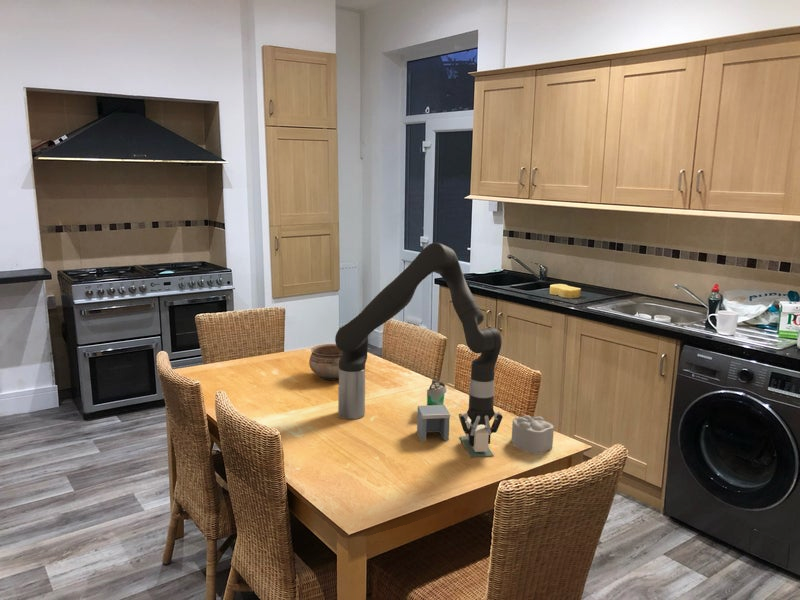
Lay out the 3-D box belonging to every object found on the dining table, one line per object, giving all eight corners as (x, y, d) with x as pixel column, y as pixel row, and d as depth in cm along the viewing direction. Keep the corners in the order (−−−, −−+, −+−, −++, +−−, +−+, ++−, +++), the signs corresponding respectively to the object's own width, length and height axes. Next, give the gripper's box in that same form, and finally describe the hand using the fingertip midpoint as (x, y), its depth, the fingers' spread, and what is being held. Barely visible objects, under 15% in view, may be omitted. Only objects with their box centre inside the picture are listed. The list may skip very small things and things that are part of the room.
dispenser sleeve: (421, 441, 204) (422, 415, 203) (417, 431, 213) (417, 405, 211) (449, 440, 206) (450, 414, 204) (443, 430, 214) (444, 404, 212)
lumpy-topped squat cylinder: (536, 455, 196) (538, 429, 194) (503, 442, 206) (505, 416, 204) (556, 447, 203) (558, 421, 201) (523, 434, 212) (525, 409, 211)
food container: (443, 418, 224) (444, 391, 222) (426, 417, 225) (427, 390, 223) (447, 406, 236) (448, 380, 234) (431, 404, 237) (432, 379, 235)
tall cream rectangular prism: (475, 451, 195) (475, 433, 194) (465, 435, 207) (466, 418, 205) (487, 451, 196) (488, 432, 194) (477, 435, 207) (478, 418, 206)
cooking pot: (367, 381, 262) (368, 352, 260) (328, 390, 251) (328, 360, 248) (335, 366, 281) (335, 339, 279) (297, 374, 270) (297, 346, 268)
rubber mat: (471, 457, 194) (471, 456, 194) (459, 437, 208) (459, 436, 208) (493, 456, 195) (493, 455, 195) (480, 436, 209) (480, 435, 209)
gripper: (462, 397, 190) (459, 451, 193) (508, 396, 192) (504, 449, 195) (456, 389, 197) (454, 441, 200) (500, 387, 199) (497, 439, 203)
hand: (479, 444), depth 198 cm, fingers closed on tall cream rectangular prism, 4 cm apart
